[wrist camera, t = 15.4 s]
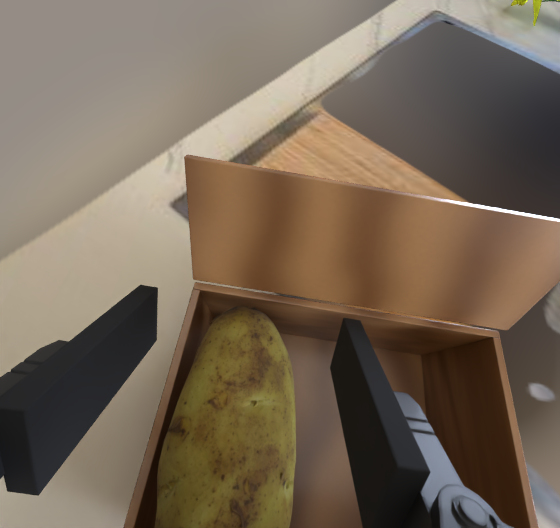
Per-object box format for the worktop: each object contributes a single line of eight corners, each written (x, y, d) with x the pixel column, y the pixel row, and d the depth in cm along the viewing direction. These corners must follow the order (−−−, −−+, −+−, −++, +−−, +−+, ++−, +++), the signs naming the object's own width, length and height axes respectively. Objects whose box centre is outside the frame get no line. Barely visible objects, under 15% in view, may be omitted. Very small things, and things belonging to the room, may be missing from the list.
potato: (326, 341, 21) (388, 376, 13) (248, 519, 19) (265, 686, 11) (224, 291, 20) (224, 297, 12) (130, 476, 18) (55, 628, 10)
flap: (183, 156, 13) (186, 154, 13) (192, 279, 18) (194, 275, 18) (613, 231, 14) (606, 226, 14) (507, 330, 19) (504, 325, 19)
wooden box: (154, 550, 20) (-191, 1100, 4) (212, 318, 27) (161, 212, 12) (442, 590, 20) (1059, 1207, 5) (422, 351, 28) (641, 292, 12)
